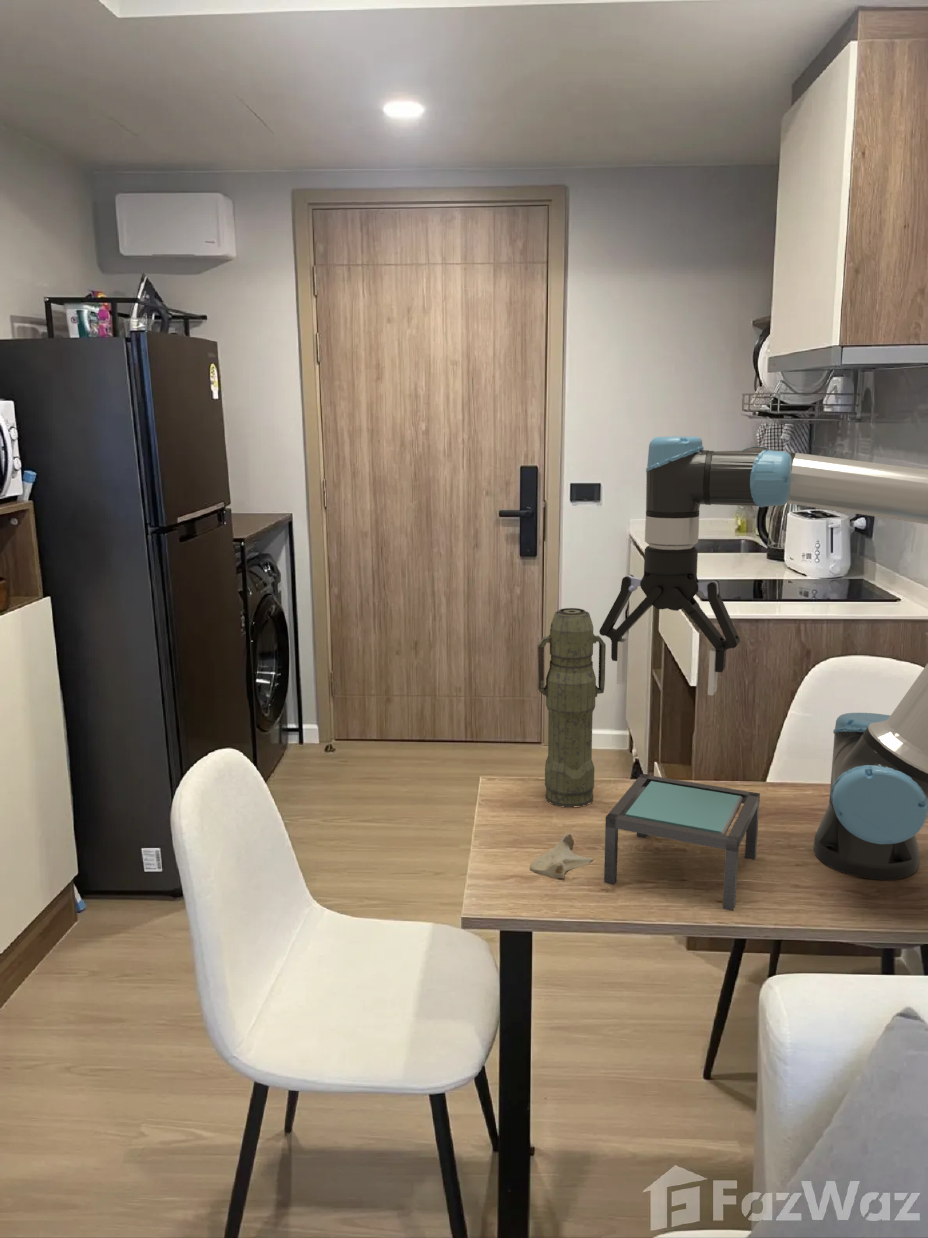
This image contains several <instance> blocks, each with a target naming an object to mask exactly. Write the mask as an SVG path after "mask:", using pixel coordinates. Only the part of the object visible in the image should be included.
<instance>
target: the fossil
mask: <svg viewBox="0 0 928 1238" xmlns="http://www.w3.org/2000/svg"><path fill="white" fill-rule="evenodd" d="M574 845H575V841H574V837H573V835H572V833H571V832H566V833H564V835H563V836H562V837H561V838H560V840H559V842H558V843H557V844H556V845H555V846H554V847H553V848H551V849H549V850H548V851H546V852H544V853H543V854H541V855H540V856H538V857H536V858H534V859H533V861H532V862H531V863H530V866H529V870H530V871H531V872H533V873H535V874H538V875H540V876H544V877H548V878H553V879H563V878H565V874H566V873H567V872H568V871H570V870H574V869H578V868H580V867H584V866H588V865H590V863H591V862H593V860H594V859H593V857H587V856H586V857H585V856H581V855H578V854H576V853H574V852H573V848H574Z"/></svg>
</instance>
